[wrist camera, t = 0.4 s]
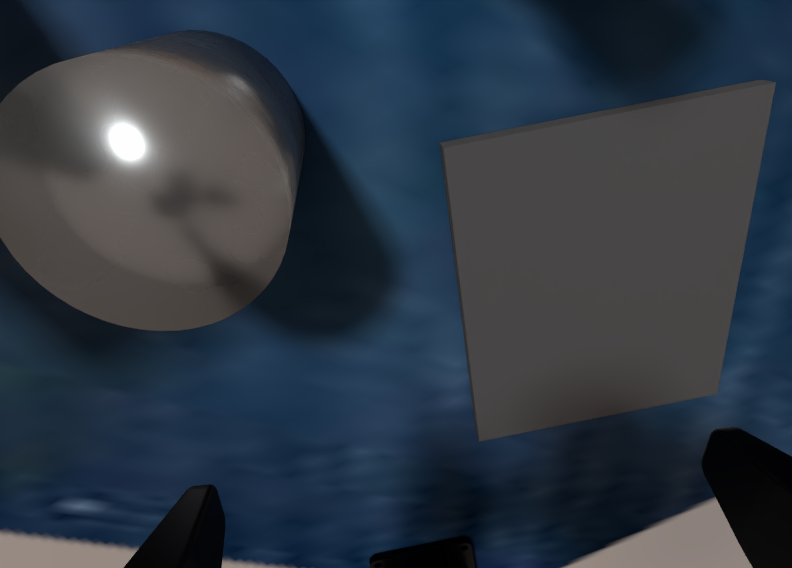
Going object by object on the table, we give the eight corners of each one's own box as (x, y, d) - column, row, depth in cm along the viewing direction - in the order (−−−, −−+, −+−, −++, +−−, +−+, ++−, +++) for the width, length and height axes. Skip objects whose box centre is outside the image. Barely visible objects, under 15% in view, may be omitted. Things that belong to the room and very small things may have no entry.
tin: (324, 202, 21) (319, 303, 14) (156, 235, 21) (70, 353, 14) (276, 12, 18) (239, 25, 11) (75, 51, 18) (-90, 90, 11)
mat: (707, 384, 29) (717, 393, 28) (475, 430, 29) (479, 441, 28) (761, 79, 21) (775, 82, 20) (439, 142, 21) (443, 148, 20)
